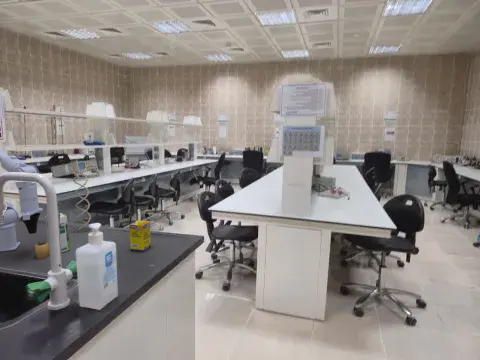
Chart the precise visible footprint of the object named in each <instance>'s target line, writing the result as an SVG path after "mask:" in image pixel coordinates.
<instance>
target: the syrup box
mask: <svg viewBox="0 0 480 360" xmlns="http://www.w3.org/2000/svg"><path fill="white" fill-rule="evenodd" d="M44 219H45V227H46V237H47V238H48V228H47V221H46V216H45V217H44ZM59 228H60V244H61V253H64V252H67V251H70V250H71V244H70V236H69V235H70V233H69V225H68V217H67V214H64V213H62V212H60V224H59Z"/></svg>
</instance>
